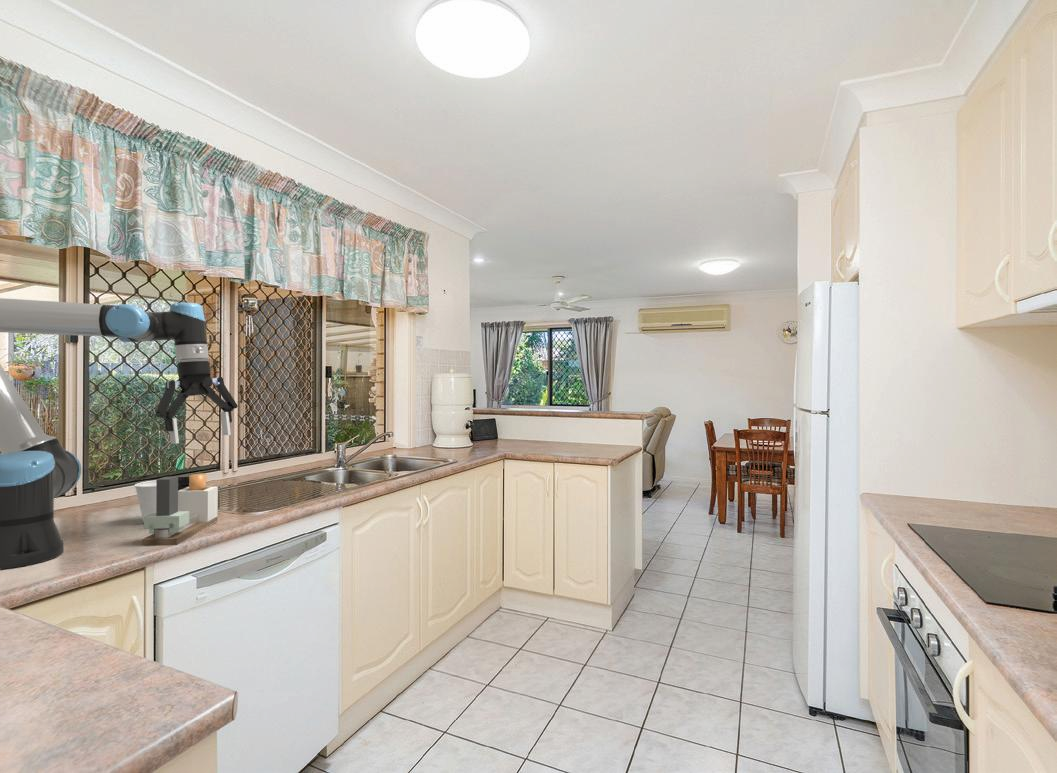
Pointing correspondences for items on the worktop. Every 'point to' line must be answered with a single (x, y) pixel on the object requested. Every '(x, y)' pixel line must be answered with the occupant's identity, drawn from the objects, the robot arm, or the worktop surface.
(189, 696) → the worktop surface
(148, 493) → the cup
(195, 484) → the button
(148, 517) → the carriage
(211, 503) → the cabinet
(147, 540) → the track
